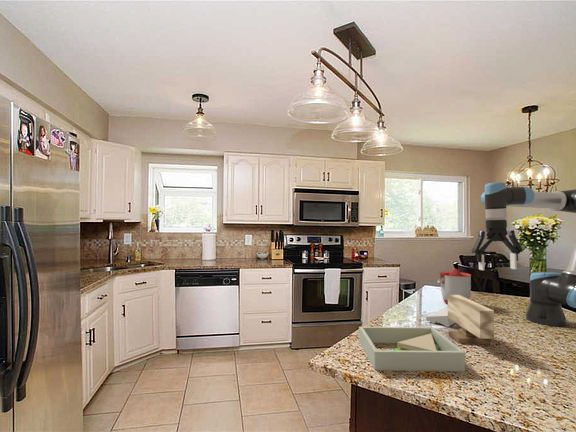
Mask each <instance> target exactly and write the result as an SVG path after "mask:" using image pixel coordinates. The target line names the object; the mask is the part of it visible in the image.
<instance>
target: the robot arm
mask: <svg viewBox="0 0 576 432" xmlns="http://www.w3.org/2000/svg"><path fill="white" fill-rule="evenodd" d="M480 202H481V203H482V205H484V208H485V219H487V220H485V229H486V230H485V231H484V230H479V231H478V236H477V238H476V241H475V242H474V245H473V247H472V249H471V253H473V254H474V255H476V262H477V263H478V270H480V271H485V254H483V253H484V252H485V251H486V249H487V248H488V247H489V246H490V245H491V244H492V242H502V243H503V244H504V246H506V247H507V248H508V249H509V251H511V252H510V253H509V264H510V266H509V267H510V269H511V270H518V267H517V266H518V262H519V254H520V253H523V252H524V249H523V248H522V245H521V244H520V241H519V240H518V238H517V237H516V234H515V229H514V230H513V229H507V228H508V221H507V217H508V215H507V213H508V212H507V207H511V208H513V207H514V208H515V207H517V208H533V209H535V208H536V209H537V208H538V209H550V210H551V211H554V212H555V211H556V212H562V213H563V212H565V213H573V214H576V188H575V189H567V190H566V189H565V190H554V191H552V192H549V191H548V192H546V191H534V190H533V188H532V187H528V186H513V187H512V186H511V187H509V186H506V182H502V181H500V182H498V181H497V182H489V183H486V184H485V185H484V192H482V194H481V195H480ZM507 236H508V237H507ZM485 237H486V238H485ZM562 305H565V306H568V307H571V308H573V309H576V240H575V241H574V244H573V248H572V251H571V256H570V258H569V262H568V266H567V269H566V270H564V271H561V273H560V272H543V271H542V272H532V273H531V274H530V276H529V304H528V307H527V309H526V312H525V319H526V320H527V321H530V322H531V323H535V324H540V325H544V326H545V325H546V326H552V327H565V326H568V325H567V321H568V320H567V318H566V315H565V311H564V309H563V307H562Z"/></svg>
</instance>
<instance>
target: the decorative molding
mask: <svg viewBox="0 0 576 432" xmlns="http://www.w3.org/2000/svg"><path fill="white" fill-rule="evenodd" d="M425 318H426V321H427V322H431V324H433V325H434V324H441V325H443V326H445V327H447V328H449V327H450V326H453V325H455V324H456V323H455V322H454V321H452V320H451V319H449V318H448V305H447V306H445V307H444V308H441V309H439V310H436V311H435V312H433V313H431V314H429V315H426V316H425Z"/></svg>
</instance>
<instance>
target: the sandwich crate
mask: <svg viewBox="0 0 576 432" xmlns="http://www.w3.org/2000/svg"><path fill="white" fill-rule="evenodd" d="M427 334H432V337H433V340H434V343H435V344H436V345H438V346H439V347H438V351H404V350H393V349H391V350H386V349H385V350H382V349H379V350H378V349H377V347H376V346H375V344H397V342H400V341H404V340H408V339H412V338H415V337H419V336H423V335H427ZM358 342H359V344H360V347H361V348H362V350H363V352H364V353H365V356H366V357H367V359H368V360H369V361H368V362H370V364H371V366H372V368H373V370H374V371H410V372H411V371H413V372H414V371H416V372H417V371H419V372H423V371H424V372H426V371H429V372H466V351H465V350H463V349H462V348H460V347H459V346H457V345H456V344H455V343H453V342H452V341H451V340H450V339H448V338H447V337H446V336H444V335H443V334H442V333H440V332H439V331H438V330H437V329H436V328H434V327H433V326H431V327H429V326H423V327H422V326H358Z"/></svg>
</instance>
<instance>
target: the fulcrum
mask: <svg viewBox="0 0 576 432" xmlns="http://www.w3.org/2000/svg"><path fill="white" fill-rule="evenodd" d="M448 337H449V338H451V339H452V340H453V341H454V342H456V343H457V344H459V343H467V344H466V345H468V344H471V345H472V344H474V345H475V344H476V345H477V344H479V345H490V344H491V339H487V338H479V337H477V336H475V335H474V334H472V333H471V332H469V331H468V330H466V329H465V328H463V327H461V326H460V331H459V330H448Z"/></svg>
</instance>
